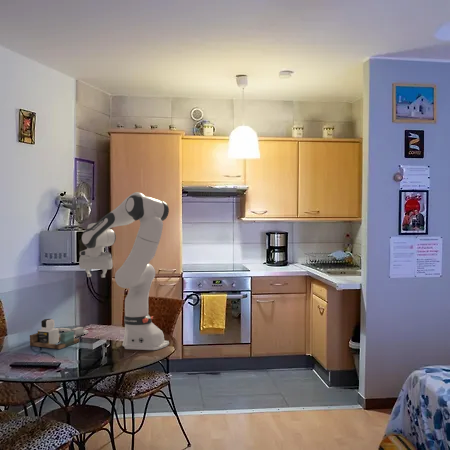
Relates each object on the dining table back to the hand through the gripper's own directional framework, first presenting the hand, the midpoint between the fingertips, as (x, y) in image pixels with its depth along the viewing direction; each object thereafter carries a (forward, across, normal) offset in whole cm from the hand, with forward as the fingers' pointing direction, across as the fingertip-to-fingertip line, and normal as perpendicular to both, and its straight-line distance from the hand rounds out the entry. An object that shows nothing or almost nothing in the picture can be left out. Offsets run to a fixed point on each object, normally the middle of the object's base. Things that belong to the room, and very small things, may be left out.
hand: (96, 277), depth 259 cm
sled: (+29, +1, +31) cm, 42 cm away
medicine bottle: (+29, +5, +31) cm, 43 cm away
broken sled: (+29, +9, +15) cm, 34 cm away
